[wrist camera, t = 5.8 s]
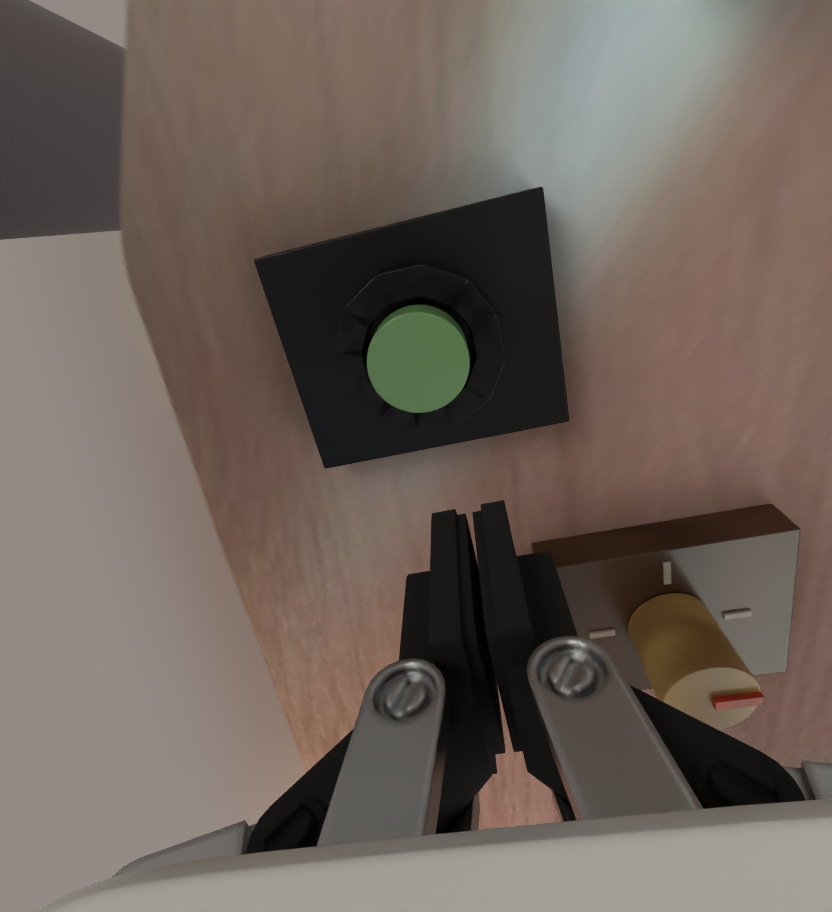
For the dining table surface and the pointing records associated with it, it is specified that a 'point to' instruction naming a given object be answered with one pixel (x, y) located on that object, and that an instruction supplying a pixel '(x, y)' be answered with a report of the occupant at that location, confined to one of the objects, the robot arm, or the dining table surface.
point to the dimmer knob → (693, 661)
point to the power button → (418, 359)
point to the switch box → (435, 284)
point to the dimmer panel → (686, 580)
